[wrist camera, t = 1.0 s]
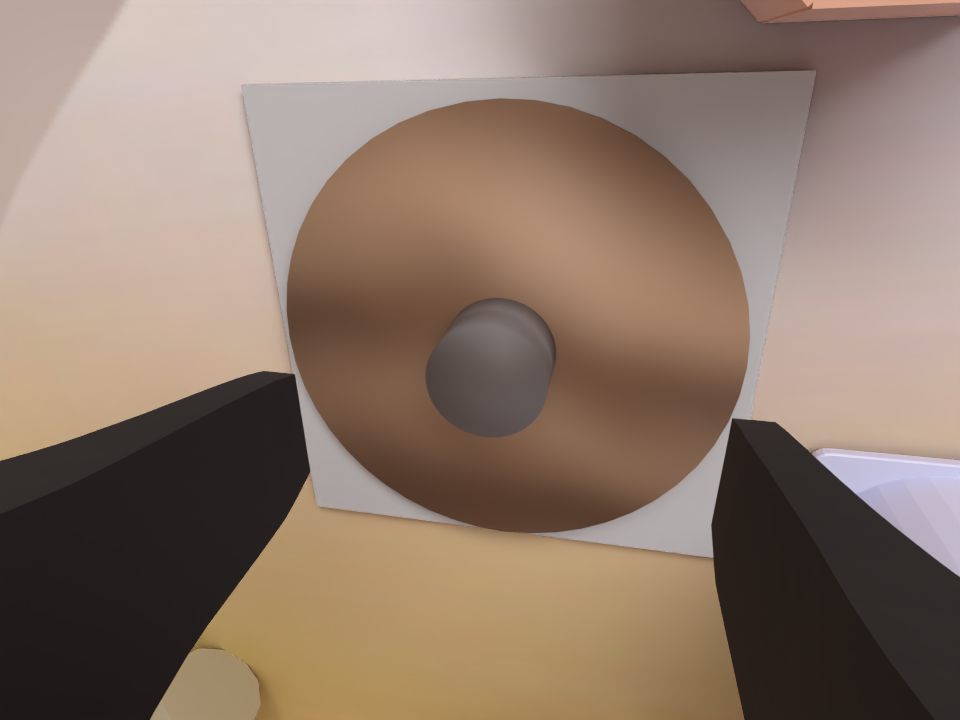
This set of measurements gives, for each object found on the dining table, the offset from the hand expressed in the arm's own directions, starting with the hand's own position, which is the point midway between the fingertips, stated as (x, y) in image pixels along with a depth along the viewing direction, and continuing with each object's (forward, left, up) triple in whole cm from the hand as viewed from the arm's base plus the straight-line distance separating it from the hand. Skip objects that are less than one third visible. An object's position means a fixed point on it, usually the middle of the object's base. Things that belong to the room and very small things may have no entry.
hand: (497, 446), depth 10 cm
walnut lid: (-3, +2, -10) cm, 10 cm away
